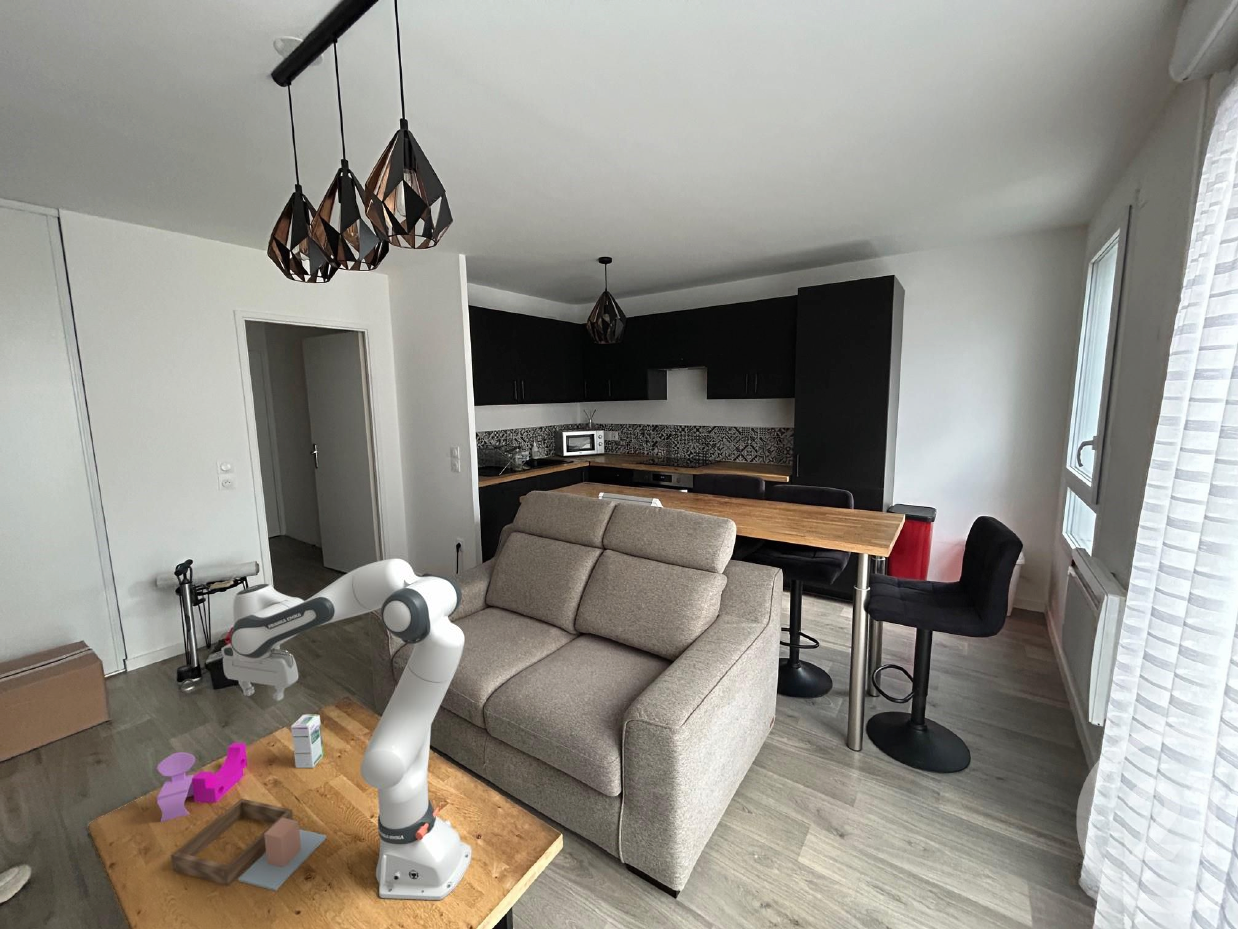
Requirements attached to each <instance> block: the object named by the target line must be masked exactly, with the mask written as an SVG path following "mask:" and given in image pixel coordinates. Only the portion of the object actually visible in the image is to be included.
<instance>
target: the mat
mask: <svg viewBox="0 0 1238 929" xmlns="http://www.w3.org/2000/svg"><path fill="white" fill-rule="evenodd" d="M299 834H300V844H301V850H300V851H299V852H298V853H297V854H296V855H295V856H294V857H293V858H292V859H291V861H290V862H289V863H288V864H287V865H286V866H285V867H281V866H277V865H273V864H269V863H267V856H266V851H265V852H264V853H263V854H262V855H261V856H260V857H259V858H257V859H256V860H255V861H254V862H253V863H252V864H251V865H250V866H249V867H248V868H247V869H246V870H245V871H244V872H243V873H242V874H240V875H239V876H238V877H237V881H238V882H242V883H245V884H248V885H252V886H256V887H260V888H264V889H268V890H271V891H275V892H277V890H278V889H279V888H280V887H282V885H283V884H284V883H285V882H286V881H287V880H288V878H290V876H291V875H292V874H293V873H295V871H296V870H297V869H298V868H299V867H300V866H301V865H302V864H303V863H304V862H305V861H306V860H307V859H308V857H309V856H310V855H311V854H312V853H313V852H314V851H315V850H316V849H317V848H318V847H319V846H320V845H321V844H322V843H323V842H324V841H325V839H326V838H327V834H322V833H317V832H314V831H309V830H304V829H301V828H299Z"/></svg>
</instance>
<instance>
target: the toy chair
mask: <svg viewBox="0 0 1238 929" xmlns="http://www.w3.org/2000/svg"><path fill="white" fill-rule="evenodd" d="M195 762H196V757H195V756H194V755H193V754H191V753H189V752H182V751H179V752H175V753H173V754H171V755H169V756H167V757H165V758H164V759H163V760H161V761H160V762H159V763H158V765H157V767H156V769H157V771H158V772H159V773H160V775H162V777H170V778H171V779H170V780H166V781H164V783H163V786H162V788H161V790H160V791H159V793H158V794H157V797H156V799H157V801H156V802H157V805H158V807H159V808H160V810H161V819H160V823H162V822H166V821H170V820H172V819H176V818H179V817H180V818H181V817H184V816H187V815H190V812H189V811H188V810H187V809H186V807H185V803H186V802H185V801H186V799H187V798H189V797H194V791H193V783H192V778H193V777H194V776H195V774H194V773H193V774H189V775H186V772H187V771H189V770H190V769H191V768H192V766H193V765H194V764H195Z"/></svg>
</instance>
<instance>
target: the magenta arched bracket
mask: <svg viewBox="0 0 1238 929" xmlns="http://www.w3.org/2000/svg"><path fill="white" fill-rule="evenodd" d="M227 748H228V749H227V753H226V758H225V760H224V762H223V764H222V765H221V767H220V768H219V770H218V771H217V772H216V773H214V772H213V771H199V772H197V774H194V777H193V778H192V783H193V791H194V796H193V799H194V803H217V802H218V801H219V800H220V799H221V798H222V797H223V796H225V794H227V793H228V792H229V790H231V789H232V788H233V787H234V786H236V785H237V783H238V782H239V781H241V779H243V777H244V776H245V775H244V773H245V772H244V769H245V768H246V767H247V766H248V759H247V750H246V749H247V748H246V743H245V742H232V744H230V745H229V746H228V747H227Z"/></svg>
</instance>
